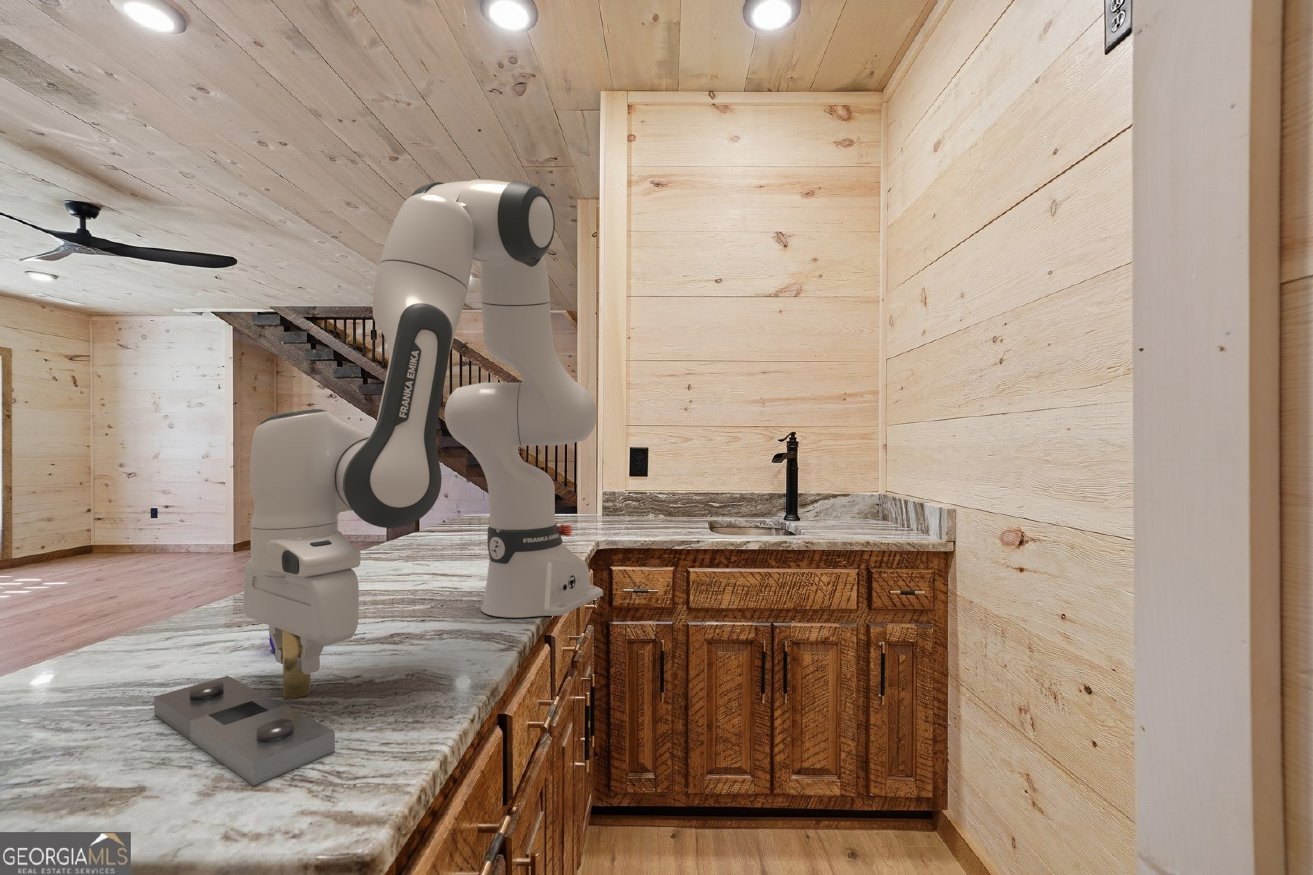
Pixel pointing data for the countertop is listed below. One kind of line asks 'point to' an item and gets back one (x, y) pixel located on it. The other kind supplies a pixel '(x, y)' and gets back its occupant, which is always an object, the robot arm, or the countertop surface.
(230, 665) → the countertop surface
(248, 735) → the grey plate with knobs
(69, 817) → the countertop surface
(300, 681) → the pin
